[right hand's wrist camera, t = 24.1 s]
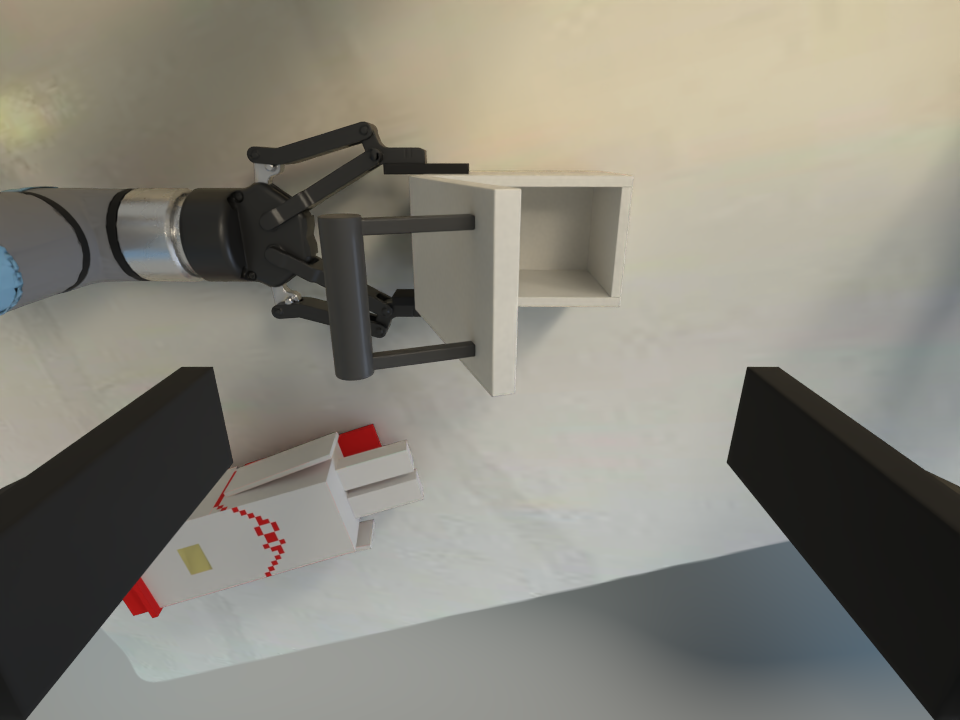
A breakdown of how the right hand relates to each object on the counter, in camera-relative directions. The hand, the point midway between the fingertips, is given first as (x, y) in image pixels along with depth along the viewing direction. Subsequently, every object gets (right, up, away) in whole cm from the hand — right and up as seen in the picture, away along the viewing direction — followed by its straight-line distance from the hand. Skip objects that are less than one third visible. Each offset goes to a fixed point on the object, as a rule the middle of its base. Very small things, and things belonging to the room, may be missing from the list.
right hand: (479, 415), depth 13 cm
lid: (-1, +7, +18) cm, 19 cm away
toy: (-22, -12, +47) cm, 53 cm away
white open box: (+4, +14, +36) cm, 39 cm away
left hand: (-1, +12, +29) cm, 32 cm away
